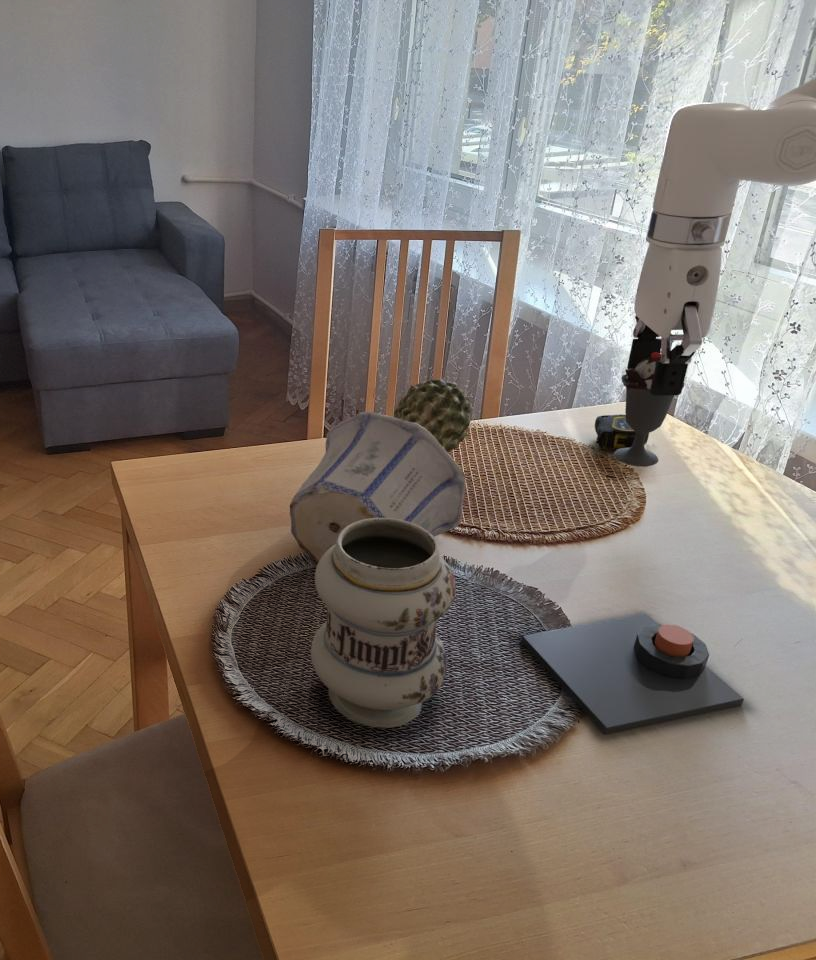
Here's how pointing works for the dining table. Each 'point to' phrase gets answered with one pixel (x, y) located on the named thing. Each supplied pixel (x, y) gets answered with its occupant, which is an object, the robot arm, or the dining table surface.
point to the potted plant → (388, 469)
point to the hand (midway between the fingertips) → (652, 380)
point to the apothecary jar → (382, 620)
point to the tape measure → (614, 432)
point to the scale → (629, 673)
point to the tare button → (674, 640)
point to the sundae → (642, 411)
